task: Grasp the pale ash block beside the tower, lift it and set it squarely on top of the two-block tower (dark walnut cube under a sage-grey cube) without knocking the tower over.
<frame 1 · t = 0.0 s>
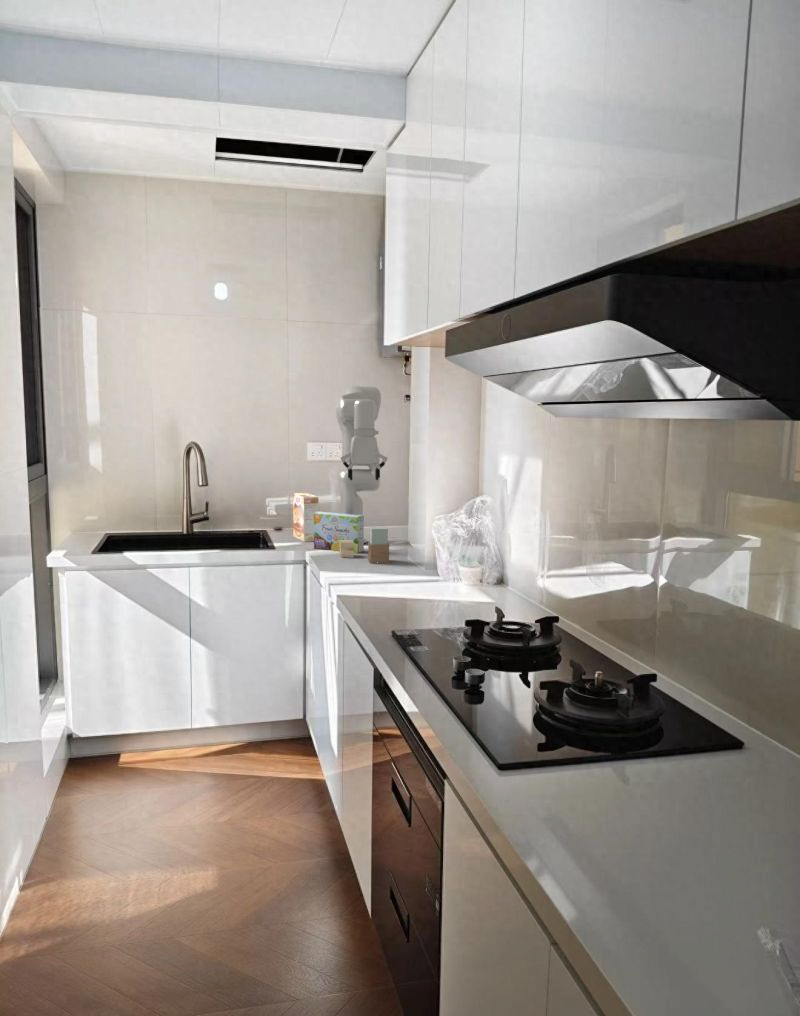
hand: (363, 479, 309), 31 cm above the countertop, tool pointing down, fingers open, 9 cm apart
coffeecake box: (305, 539, 366), on the countertop
ash block: (346, 556, 326), on the countertop
walnut base block: (378, 561, 316), on the countertop, touching sage top block
sage top block: (378, 543, 315), point 7 cm above the countertop, touching walnut base block
snack box: (338, 550, 340), on the countertop
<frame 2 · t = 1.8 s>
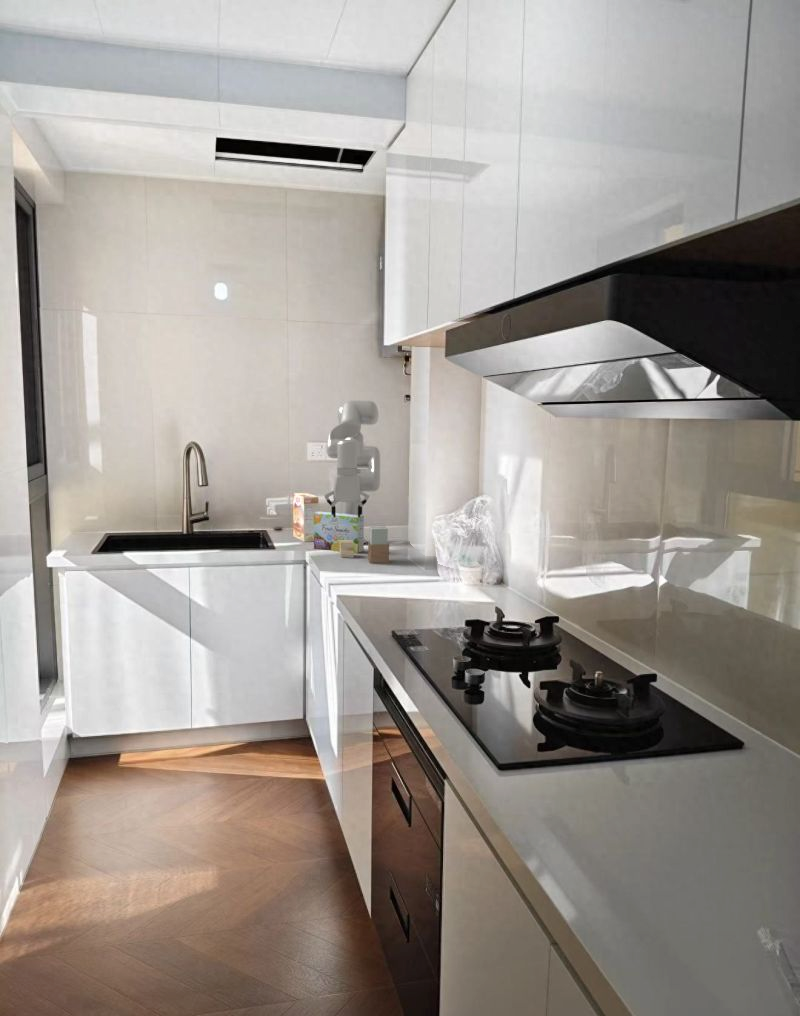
hand: (346, 516, 324), 16 cm above the countertop, tool pointing down, fingers open, 9 cm apart
nothing on the countertop moved.
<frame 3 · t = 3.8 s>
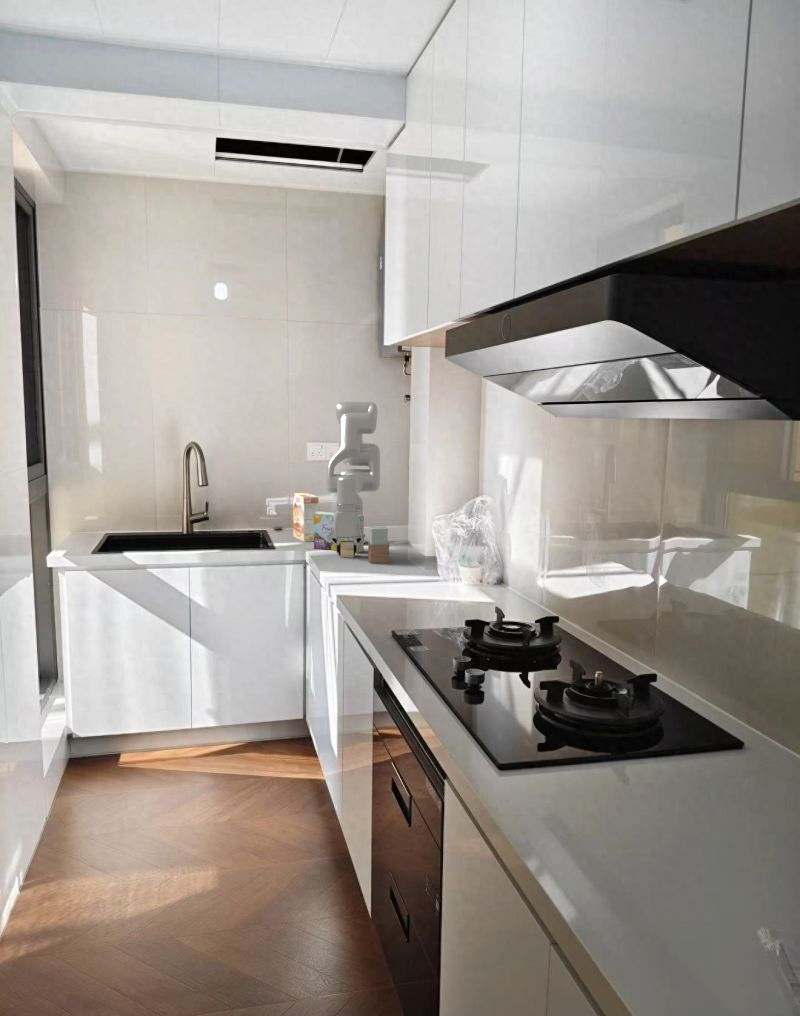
hand: (346, 554, 326), 1 cm above the countertop, tool pointing down, fingers closed on ash block, 5 cm apart
ash block: (346, 556, 326), on the countertop, touching gripper
everything else where it was.
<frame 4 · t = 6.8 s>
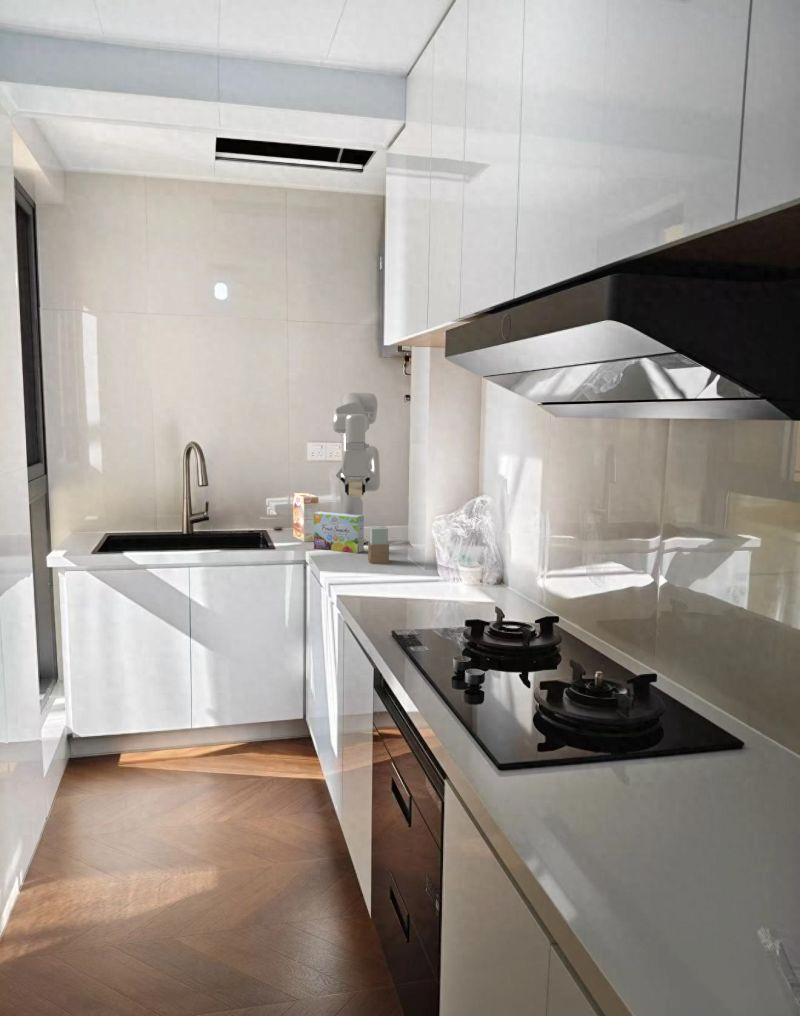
hand: (355, 494, 320), 25 cm above the countertop, tool pointing down, fingers closed on ash block, 4 cm apart
ash block: (354, 496, 320), point 24 cm above the countertop, touching gripper
everything else where it was.
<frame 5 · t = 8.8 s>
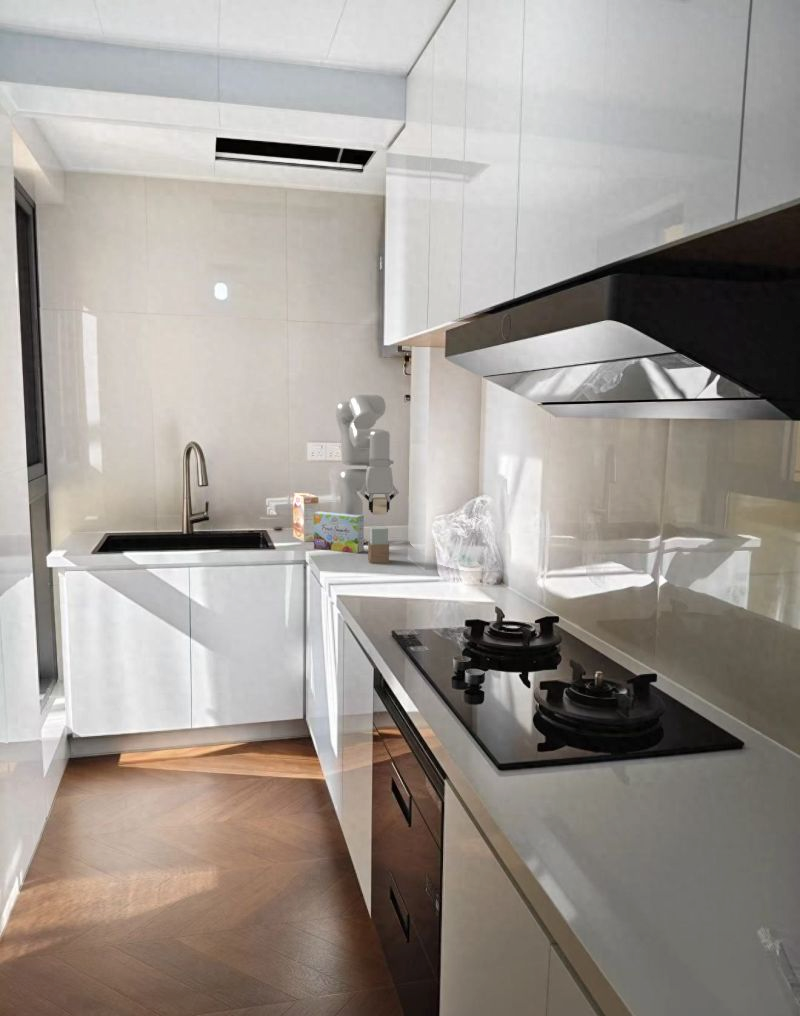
hand: (379, 511, 313), 19 cm above the countertop, tool pointing down, fingers closed on ash block, 4 cm apart
ash block: (379, 513, 314), point 18 cm above the countertop, touching gripper
everything else where it was.
when the fingers open (15 cm above the countertop, at t = 10.2 s): ash block drops 1 cm, resting on sage top block.
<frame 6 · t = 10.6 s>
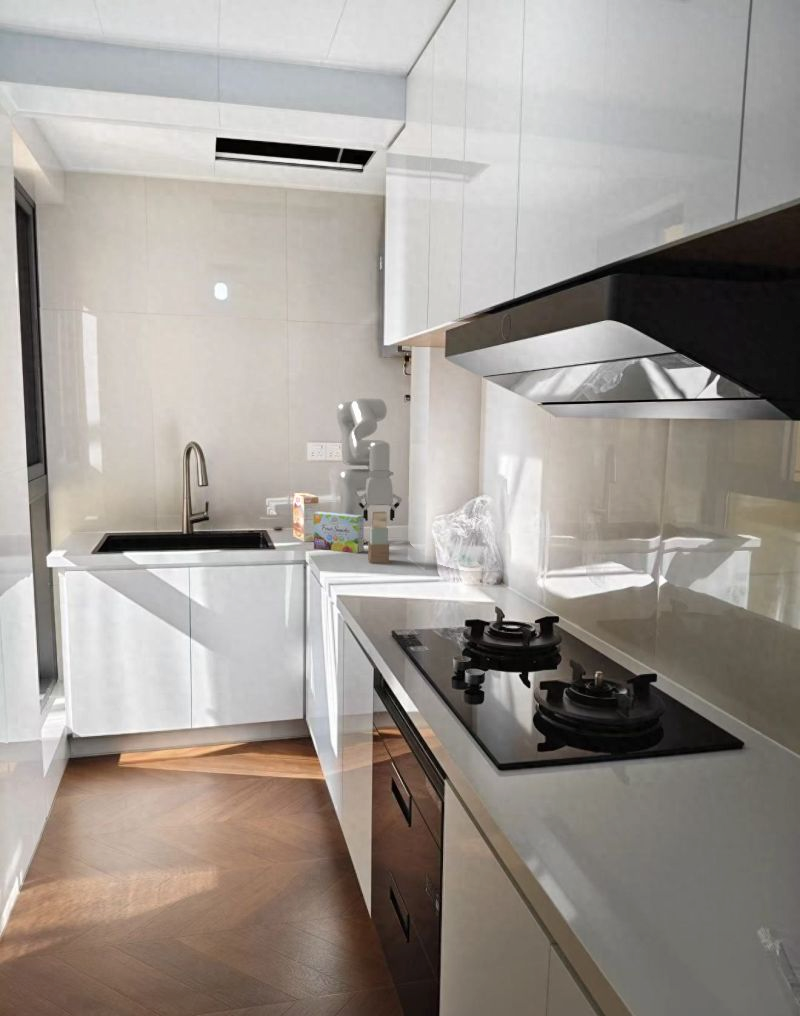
hand: (378, 520, 314), 16 cm above the countertop, tool pointing down, fingers open, 9 cm apart
ash block: (379, 527, 314), point 13 cm above the countertop, touching sage top block
sage top block: (378, 543, 315), point 7 cm above the countertop, touching ash block, walnut base block
everything else where it was.
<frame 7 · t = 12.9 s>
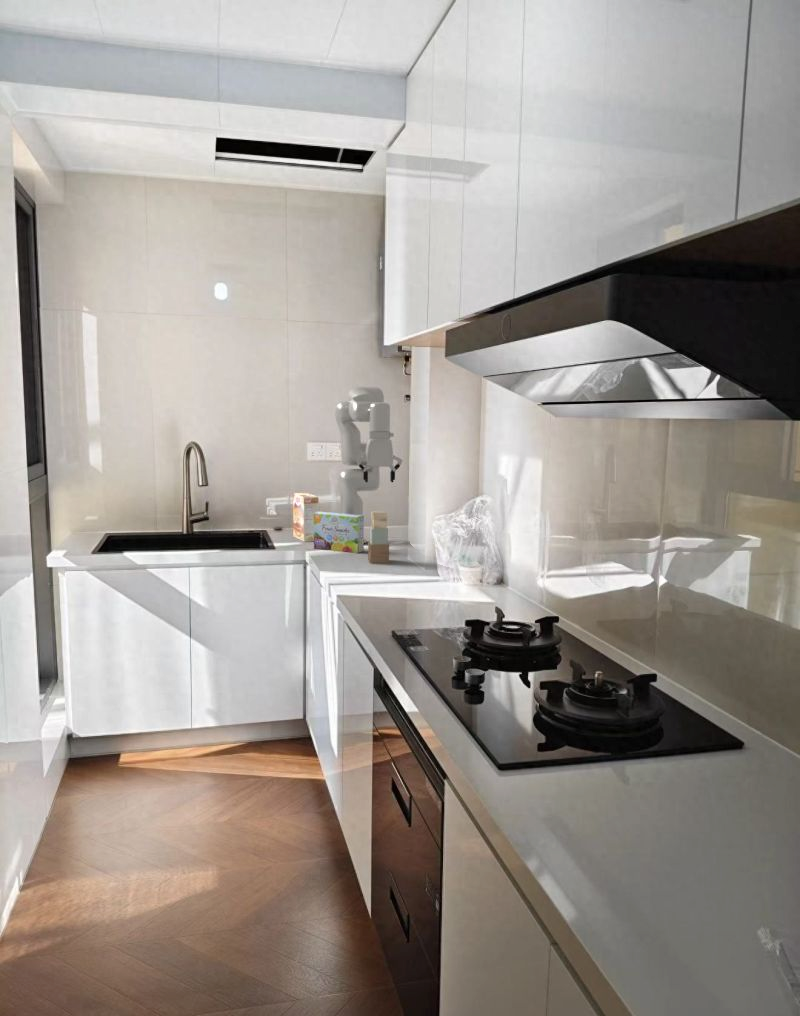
hand: (379, 481, 312), 30 cm above the countertop, tool pointing down, fingers open, 9 cm apart
nothing on the countertop moved.
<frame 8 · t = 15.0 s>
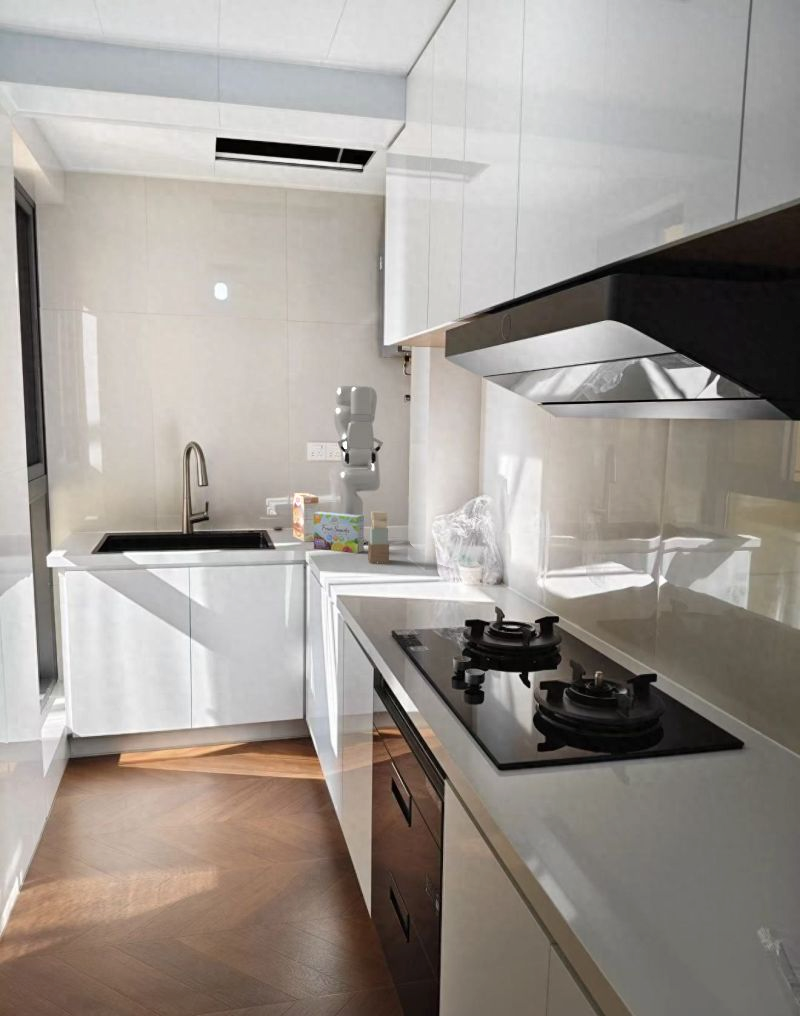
hand: (360, 463, 321), 36 cm above the countertop, tool pointing down, fingers open, 9 cm apart
nothing on the countertop moved.
at the end: ash block 0.1 cm off-centre on the sage top block, point 6.0 cm above the sage top block's base; ash block tilted 0°; sage top block 0.0 cm off-centre on the walnut base block, point 7.0 cm above the walnut base block's base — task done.
